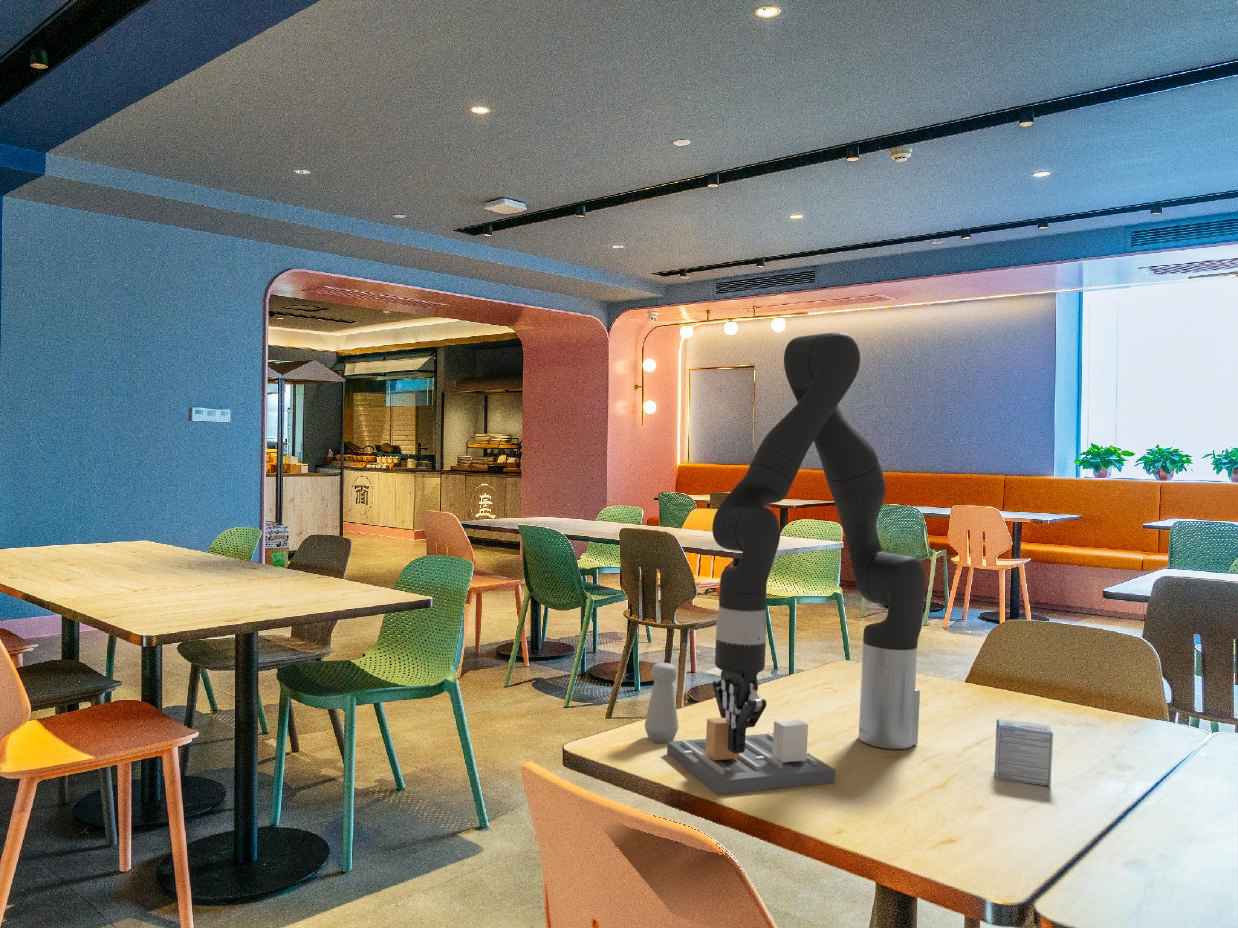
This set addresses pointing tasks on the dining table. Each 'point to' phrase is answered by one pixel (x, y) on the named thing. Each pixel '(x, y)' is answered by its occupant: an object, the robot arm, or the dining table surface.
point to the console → (748, 767)
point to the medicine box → (1023, 752)
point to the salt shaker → (662, 705)
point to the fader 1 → (718, 740)
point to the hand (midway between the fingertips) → (735, 751)
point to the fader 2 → (790, 740)
